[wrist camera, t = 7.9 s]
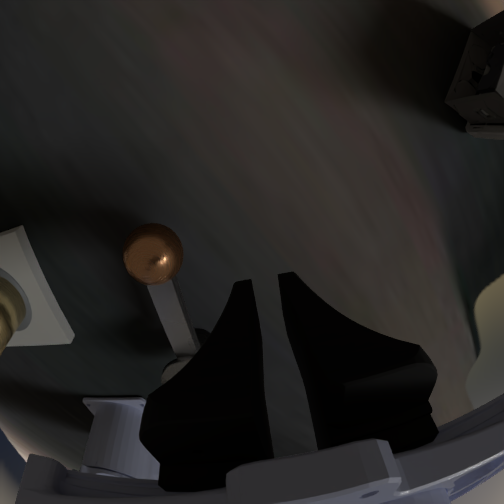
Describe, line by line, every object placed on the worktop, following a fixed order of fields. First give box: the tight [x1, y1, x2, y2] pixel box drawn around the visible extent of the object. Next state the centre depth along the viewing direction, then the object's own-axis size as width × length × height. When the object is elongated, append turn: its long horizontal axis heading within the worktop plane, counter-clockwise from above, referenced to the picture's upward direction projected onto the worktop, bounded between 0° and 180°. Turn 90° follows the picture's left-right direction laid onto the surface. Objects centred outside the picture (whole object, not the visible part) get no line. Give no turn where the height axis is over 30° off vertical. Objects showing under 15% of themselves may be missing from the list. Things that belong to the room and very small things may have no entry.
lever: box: [123, 223, 201, 358], centre depth 19 cm, size 10×4×4 cm, turn 9°
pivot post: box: [161, 329, 210, 385], centre depth 22 cm, size 5×5×7 cm
